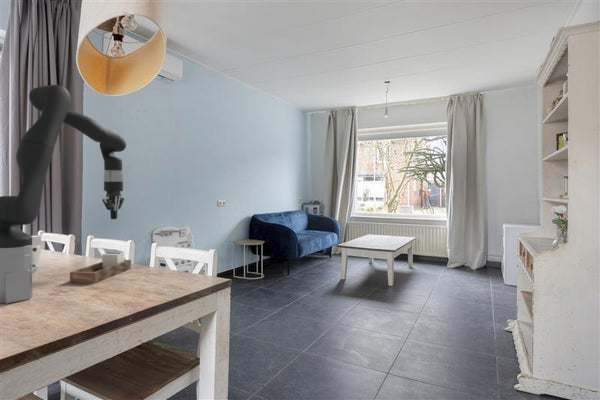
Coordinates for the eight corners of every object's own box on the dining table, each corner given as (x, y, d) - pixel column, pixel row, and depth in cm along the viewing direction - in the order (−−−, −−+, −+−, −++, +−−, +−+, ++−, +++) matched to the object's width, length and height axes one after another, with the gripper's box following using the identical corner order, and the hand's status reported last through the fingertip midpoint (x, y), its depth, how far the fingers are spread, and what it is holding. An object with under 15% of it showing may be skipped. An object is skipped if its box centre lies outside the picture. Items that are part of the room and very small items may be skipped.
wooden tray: (109, 268, 151) (109, 259, 151) (130, 268, 151) (130, 259, 151) (70, 282, 127) (69, 272, 127) (95, 283, 127) (95, 272, 127)
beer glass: (16, 272, 141) (15, 237, 141) (33, 268, 148) (33, 235, 147) (27, 273, 139) (27, 238, 139) (45, 270, 146) (44, 235, 145)
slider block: (109, 265, 149) (109, 251, 148) (124, 266, 148) (124, 251, 148) (102, 268, 144) (102, 253, 143) (117, 268, 143) (117, 253, 143)
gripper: (114, 180, 157) (114, 217, 158) (95, 180, 144) (96, 220, 144) (129, 181, 157) (130, 217, 157) (112, 180, 143) (113, 220, 144)
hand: (113, 219), depth 151 cm, fingers closed
